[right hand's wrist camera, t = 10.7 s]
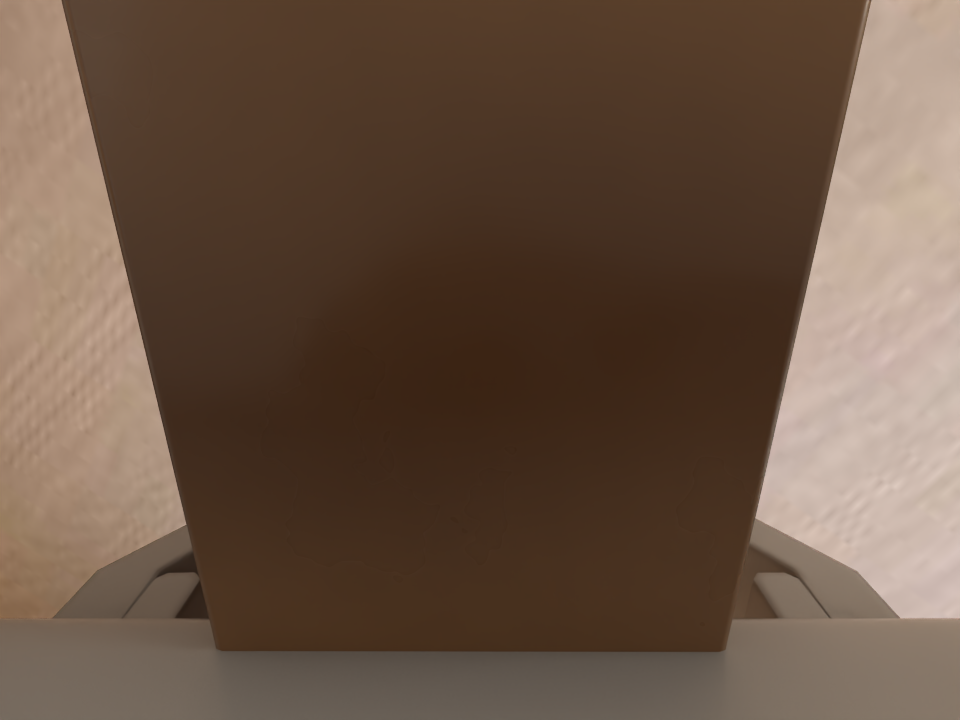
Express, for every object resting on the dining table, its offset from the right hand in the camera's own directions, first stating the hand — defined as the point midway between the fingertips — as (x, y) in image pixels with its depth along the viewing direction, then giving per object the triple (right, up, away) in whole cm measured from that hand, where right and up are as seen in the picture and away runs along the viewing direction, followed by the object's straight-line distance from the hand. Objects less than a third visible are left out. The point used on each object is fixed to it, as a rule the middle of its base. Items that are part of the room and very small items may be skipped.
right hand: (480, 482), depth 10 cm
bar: (0, +10, 0) cm, 10 cm away
